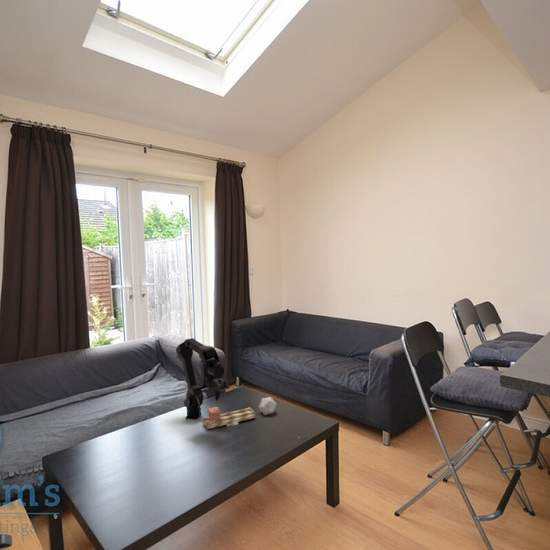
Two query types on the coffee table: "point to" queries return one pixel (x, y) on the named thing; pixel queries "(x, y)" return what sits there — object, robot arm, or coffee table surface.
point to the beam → (230, 418)
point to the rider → (214, 413)
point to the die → (267, 405)
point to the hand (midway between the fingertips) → (208, 403)
